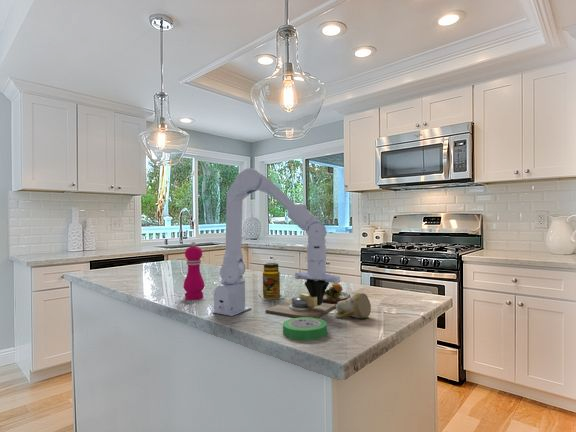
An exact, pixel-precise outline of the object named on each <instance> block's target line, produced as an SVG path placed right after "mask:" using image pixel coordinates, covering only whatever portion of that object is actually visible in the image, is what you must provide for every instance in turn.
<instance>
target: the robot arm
mask: <svg viewBox="0 0 576 432" xmlns="http://www.w3.org/2000/svg"><path fill="white" fill-rule="evenodd" d="M257 191H260V192H263V193H264V194H265V193H266V194H268V195H269V196H270V197H272V198H273V199H274V200H275V201H276V202H278V203H279V204H280V205H281V206H282V207H283V208H284V209H286V211H287V217H288V218H289V219H290V221H292V222H293V223H294V224H295V225H296V226H297V227H298V228H299V229H300V230H301V231H305V232H306V235H307V245H306V248H307V249H306V250H307V251H306V253H307V255H306V258H307V259H306V262H307V263H306V265H307V269H306V271H307V272H295V273H294V279H295V280H304V281H305V282H304V286H305V287H306V289H307V291H308V293H309V294H308V295H312V296H316V297H317V305H318V306H319V305H321V304H322V303H323V301H324V300H323V296H324V293H325V291H326V290H327V289H328V286H329V284H330V283H331V284H333V283H336V284H337V283H338V284H340V283H341V281H340V280H341V277H340V275H334V274H329V273H327V245H326V241H327V239H326V236H327V233H328V231H327V229H326V228H327V227H326V226H325V225H324V224H323V222H322V221H320V220H318V219H319V217H318V216H317V215H316V216H315V215H314V214H313V213H312V212H311V211H310V210H308V209H307V208H308V206H307V205H306V203H305V204H302V203H301V202H294V201H293V200H292V199H290V197H289V196H287V194H285V192H284V191H283V190H281V189H280V187H279V186H277V184H276V183H274V181H272V180H271V179H270V178H267V177H266V176H265V175H264V174H261V173H260V172H259V171H258V170H257V169H255V168H252V167H248V168H245V169H243V170H242V171H241V172H239V173H238V174H236V176H235V179H234V180H233V182H232V183H231V185H230V187H229V188H228V190H227V192H226V200H225V201H226V206H225V207H226V209H225V210H226V211H225V212H226V213H225V216H226V217H225V252H224V255H223V259H222V260H223V261H222V262H223V263H222V265H221V267H220V269H219V275H220V278H221V282H220V284H219V285H218V286H216V287H215V289H214V292H213V301H214V302H213V310H211V312H212V313H214V314H218V315H225V316H230V317H234V316H236V315H238V314H241V313H244V312H246V311H249V310H251V309H252V307H251V306H246V280H245V278H244V274H245V271H246V264H245V262H244V260H243V257H244V256H243V249H242V247H243V246H242V243H243V241H242V239H243V235H242V234H243V233H242V232H243V201H244V200H245V199H246V198H247V197H248V196H249V195H250V194H252V193H254V192H257Z"/></svg>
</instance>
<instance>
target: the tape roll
mask: <svg viewBox="0 0 576 432" xmlns="http://www.w3.org/2000/svg"><path fill="white" fill-rule="evenodd" d="M282 333H283V336H285V337H286V338H289V339H292V340H297V341H314V340H319V339H322V338H325V337H326V336H327V335H328V324H327V322H326V320H324V319H322V318H319V317H318V318H311V317H300V318H295V317H292V318H290V319H287V320H286V321H284V322H283V323H282Z"/></svg>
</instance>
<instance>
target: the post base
mask: <svg viewBox="0 0 576 432" xmlns="http://www.w3.org/2000/svg"><path fill="white" fill-rule="evenodd" d="M336 305H337V304H334V303H333V304H328V303H326V302H322V304H321V305H319V306H318V305H317V307H304V308H299V307H293V306H292V298H291V299H289V300H287V301H286V300H285V301H284V302H281V303H279V304H277V305H274V306H272V307H269V308H268V309H265V313H267V314H273V315H278V316H283V317H291V318H300V317H311V318H318V319H319V318H320V317H321V316H323V315H324V314H326V313H328V312H331V311H333V310H334V309H335V308H336Z"/></svg>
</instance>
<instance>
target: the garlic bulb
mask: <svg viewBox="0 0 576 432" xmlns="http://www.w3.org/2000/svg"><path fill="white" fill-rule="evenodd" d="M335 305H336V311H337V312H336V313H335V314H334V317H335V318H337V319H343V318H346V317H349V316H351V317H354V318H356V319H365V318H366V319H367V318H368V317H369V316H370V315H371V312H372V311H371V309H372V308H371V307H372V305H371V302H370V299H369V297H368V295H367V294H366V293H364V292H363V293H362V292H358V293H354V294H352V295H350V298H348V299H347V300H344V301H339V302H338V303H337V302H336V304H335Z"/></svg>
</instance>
